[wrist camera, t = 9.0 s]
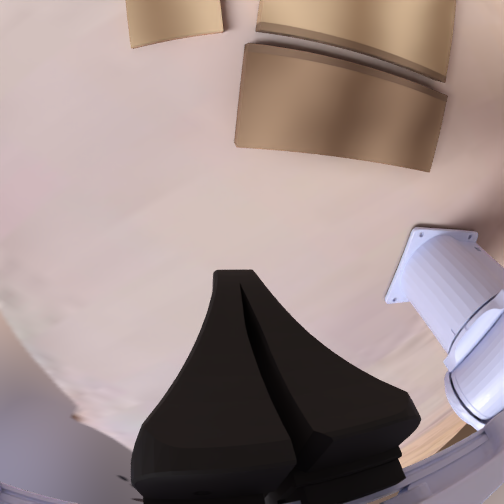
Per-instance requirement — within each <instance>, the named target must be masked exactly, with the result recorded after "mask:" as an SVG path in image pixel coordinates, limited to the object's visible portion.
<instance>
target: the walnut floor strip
mask: <svg viewBox="0 0 504 504" xmlns="http://www.w3.org/2000/svg"><path fill="white" fill-rule="evenodd" d="M447 97H448V96H447V95H445V94H442V93H440V92H438V91H435V90H433V89H431V88H428V87H426V86H423V85H420V84H418V83H415V82H413V81H410V80H407V79H404V78H401V77H399V76H396V75H393V74H390V73H387V72H384V71H380V70H377V69H374V68H371V67H367V66H364V65H360V64H357V63H353V62H349V61H345V60H341V59H337V58H333V57H329V56H324V55H320V54H315V53H310V52H305V51H300V50H295V49H289V48H283V47H276V46H269V45H262V44H254V43H247V44H246V45H245V49H244V57H243V66H242V74H241V83H240V92H239V101H238V111H237V121H236V130H235V140H234V143H235V145H236V147H239V148H255V149H269V150H281V151H292V152H302V153H311V154H320V155H328V156H336V157H343V158H350V159H357V160H364V161H370V162H376V163H382V164H388V165H394V166H399V167H405V168H410V169H415V170H420V171H425V172H430V169H431V165H432V162H433V158H434V154H435V150H436V146H437V142H438V138H439V134H440V129H441V125H442V120H443V115H444V111H445V106H446V102H447Z"/></svg>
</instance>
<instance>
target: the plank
mask: <svg viewBox="0 0 504 504" xmlns="http://www.w3.org/2000/svg"><path fill="white" fill-rule="evenodd" d="M126 10H127V19H128V28H129V36H130V44H131V48H133V49H134V48H138V47H142V46H147V45H151V44H156V43H160V42H165V41H170V40H176V39H181V38H187V37H194V36H200V35H207V34H215V33H222V32H223V23H222V14H221V5H220V0H126Z"/></svg>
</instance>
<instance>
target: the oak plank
mask: <svg viewBox="0 0 504 504" xmlns="http://www.w3.org/2000/svg"><path fill="white" fill-rule="evenodd" d="M455 7H456V0H260V3H259V10H258V18H257V25H256V32H262V33H269V34H276V35H282V36H288V37H294V38H299V39H304V40H309V41H314V42H318V43H323V44H327V45H331V46H335V47H339V48H343V49H347V50H350V51H354V52H357V53H361V54H364V55H368V56H371V57H374V58H377V59H380V60H383V61H386V62H389V63H392V64H395V65H398V66H400V67H403V68H406V69H408V70H411V71H414V72H416V73H419V74H421V75H424V76H426V77H428V78H431V79H433V80H436V81H440V82H444V83H445V81H446V73H447V68H448V62H449V56H450V49H451V42H452V35H453V27H454V18H455Z"/></svg>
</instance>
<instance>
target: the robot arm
mask: <svg viewBox="0 0 504 504" xmlns="http://www.w3.org/2000/svg"><path fill="white" fill-rule="evenodd" d="M420 233H421V234H420ZM477 238H478V233H477V232H476V231H466V230H453V229H439V228H425V227H415V228H414V229H413V230H412V232H411V234H410V237H409V240H408V242H407V245H406V248H405V250H404V253H403V256H402V258H401V261H400V263H399V266H398V268H397V271H396V273H395V276H394V278H393V281H392V283H391V285H390V288H389V290H388V292H387V295H386V297H385V302H386V303H387V304H391V303H400V302H409V301H410V302H411V304H412V305H413V306H414V308H415V309H416V310H417V312H418V313H419V314H420V316H421V317H422V319H423V320H424V321H425V323H426V324H427V325H428V327H429V328H430V330H431V331H432V333H433V334H434V335H435V337H436V338H437V340H438V341H439V342H440V344H441V345H442V347H443V348H444V350H445V351H446V353H447V354H448V356H447V357H446V358H445V360H444V361H443V362H444V364H445V365H446V367H447V368H448V371H447V373H446V375H445V379H444V382H445V392H446V396H447V399H448V401H449V403H450V405H451V407H452V408H453V410H454V411H455V412H456V414H457V415H458V416H459V417H460V418H461V419H462V420H463V421H465V422H466V423H468V424H470V425H471V426H473V427H474V428H475V429H476V430H477V432H475V433H474V434H472V435H470V436H468V437H467V438H465V439H463V440H461V441H459V442H458V443H456V444H454V445H452V446H450V447H448V448H447V449H444V450H442V451H440V452H438V453H436V454H434V455H432V456H430V457H428V458H426V459H424V460H422V461H419V462H417V463H415V464H413V465H410V466H408V467H406V468H403V469H402V467H401V464H400V462H399V460H398V458H400V457H401V456H402V453H401V450H400V448H399V445H400V444H401V443H402V442H403V441H404V440H405V439H406V438H408V437H409V436H410V435H411V434H412V433H413V432H414V431H415V430H416V429H417V427H418V426H419V424H420V421H421V417H420V415H419V413H418V411H417V409H416V407H415V405H414V403H413V401H412V399H411V398H410V396H409V394H408V393H407V392H406V391H404V390H401V389H399V388H397V387H394V386H392V385H390V384H388V383H385V382H383V381H381V380H379V379H377V378H375V377H373V376H371V375H369V374H368V373H366V372H364V371H362V370H360V369H359V368H357V367H355V366H354V365H352V364H350V363H349V362H347V361H346V360H344V359H343V358H341V357H340V356H338V355H337V354H335V353H334V352H332V351H331V350H330V349H328V348H327V347H326V346H324V345H323V344H322V343H321V342H319V341H318V340H317V339H316V338H315V337H313V336H312V335H311V334H310V333H309V332H307V331H306V330H305V329H304V328H303V327H302V326H301V325H300V324H299V323H298V322H297V321H296V320H295V319H294V318H293V317H292V316H291V315H290V314H289V313H288V312H287V311H286V309H285V308H284V307H283V306H282V305H281V304H280V303H279V302H278V301H277V299H276V298H275V297H274V296H273V295H272V293H271V292H270V291H269V290H268V289H267V287H266V286H265V285H264V283H263V282H262V281H261V280H260V278H259V277H258V276H257V274H256V273H255V272H254V271H253V270H216V271H215V272H214V273H213V292H212V296H211V300H210V304H209V308H208V311H207V314H206V317H205V320H204V322H203V325H202V328H201V330H200V333H199V335H198V337H197V340H196V342H195V344H194V346H193V348H192V350H191V352H190V354H189V356H188V358H187V360H186V362H185V364H184V365H183V367H182V369H181V371H180V372H179V374H178V376H177V377H176V379H175V380H174V382H173V383H172V385H171V386H170V388H169V389H168V391H167V392H166V394H165V395H164V397H163V398H162V400H161V401H160V402H159V404H158V405H157V406H156V407H155V409H154V410H153V411H152V413H151V414H150V415H149V416H148V418H147V419H146V420H145V421H144V423H143V424H142V426H141V429H140V431H139V434H138V437H137V439H136V442H135V446H134V449H133V453H132V459H131V483H132V485H133V486H134V488H135V489H136V490H137V491H138V492H139V493H140V494H141V495H142V496H143V502H144V504H367V503H369V502H372V501H375V500H377V499H380V498H383V497H385V496H388V495H390V494H392V493H395V492H397V491H399V493H398V495H397V496H395V497H393V498H391V499H389V500H386V501H384V502H382V503H380V504H482V503H483V502H484V501H485V500H486V499H487V498H488V497H489V496H490V495H492V494H493V493H494V492H495V491H496V490H497V489H498V488H499V487H500V486H501V485H502V483H504V268H503V267H502V266H501V265H500V264H499V263H498V262H497V261H496V260H495V259H493V258H492V257H491V256H490V255H489V254H488V253H487V252H486V251H485V250H484V249H482V248H481V247H480V246H479V245H478V244H477V243H476V241H477ZM0 504H78V503H73V502H68V501H63V500H59V499H55V498H51V497H47V496H43V495H39V494H36V493H32V492H28V491H26V490H22V489H19V488H16V487H13V486H10V485H7V484H4V483H1V482H0Z"/></svg>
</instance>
